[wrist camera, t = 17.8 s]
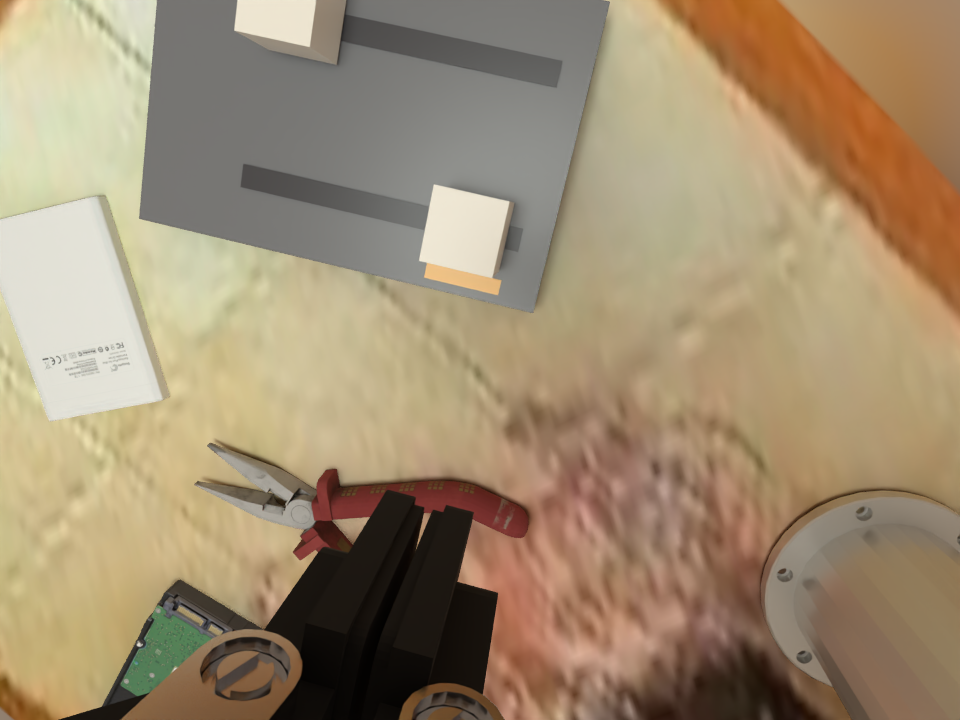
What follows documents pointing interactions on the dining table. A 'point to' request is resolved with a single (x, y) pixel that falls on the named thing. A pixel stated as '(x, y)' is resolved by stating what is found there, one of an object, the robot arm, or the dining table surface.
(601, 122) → the dining table surface
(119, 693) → the disk drive
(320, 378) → the dining table surface
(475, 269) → the tab
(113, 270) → the external hard drive
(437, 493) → the pliers
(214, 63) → the switch board
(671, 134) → the dining table surface
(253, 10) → the tab
